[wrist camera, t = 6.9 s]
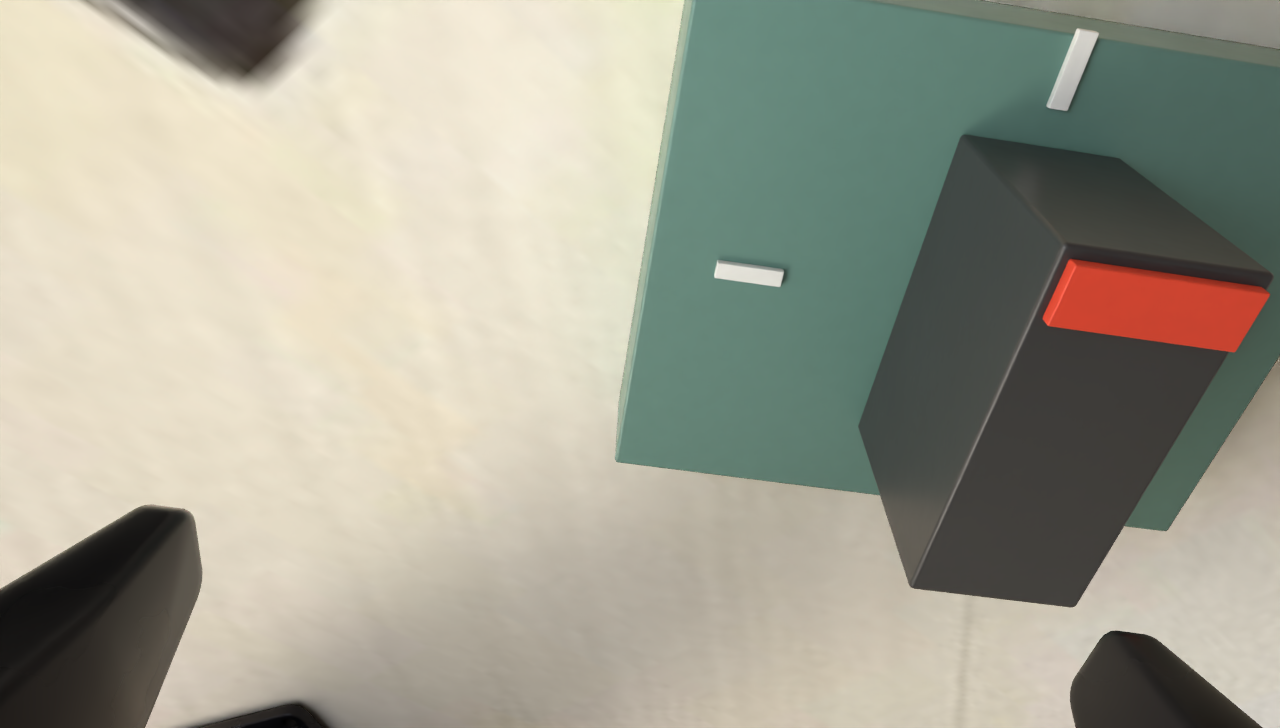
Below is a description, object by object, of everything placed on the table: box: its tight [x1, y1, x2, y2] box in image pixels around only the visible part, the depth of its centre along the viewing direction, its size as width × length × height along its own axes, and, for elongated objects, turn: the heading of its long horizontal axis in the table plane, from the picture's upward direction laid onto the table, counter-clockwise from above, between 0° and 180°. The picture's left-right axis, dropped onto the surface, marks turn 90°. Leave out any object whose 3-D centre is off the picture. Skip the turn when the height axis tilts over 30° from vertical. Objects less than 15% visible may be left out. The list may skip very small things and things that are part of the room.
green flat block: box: [615, 0, 1280, 531], centre depth 19 cm, size 14×11×3 cm
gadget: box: [858, 135, 1274, 607], centre depth 16 cm, size 7×3×5 cm, turn 171°
